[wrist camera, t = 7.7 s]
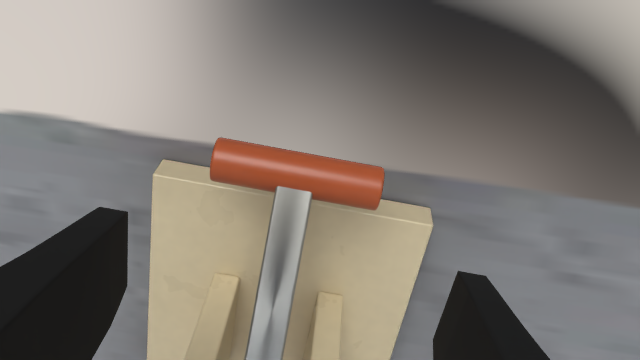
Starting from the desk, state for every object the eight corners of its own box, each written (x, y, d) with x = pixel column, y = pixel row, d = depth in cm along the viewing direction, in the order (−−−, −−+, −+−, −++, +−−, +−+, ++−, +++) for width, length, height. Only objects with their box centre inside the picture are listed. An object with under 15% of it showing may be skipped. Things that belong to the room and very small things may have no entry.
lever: (224, 138, 19) (211, 134, 16) (379, 167, 19) (389, 167, 16) (159, 494, 19) (138, 542, 16) (313, 520, 19) (314, 571, 17)
